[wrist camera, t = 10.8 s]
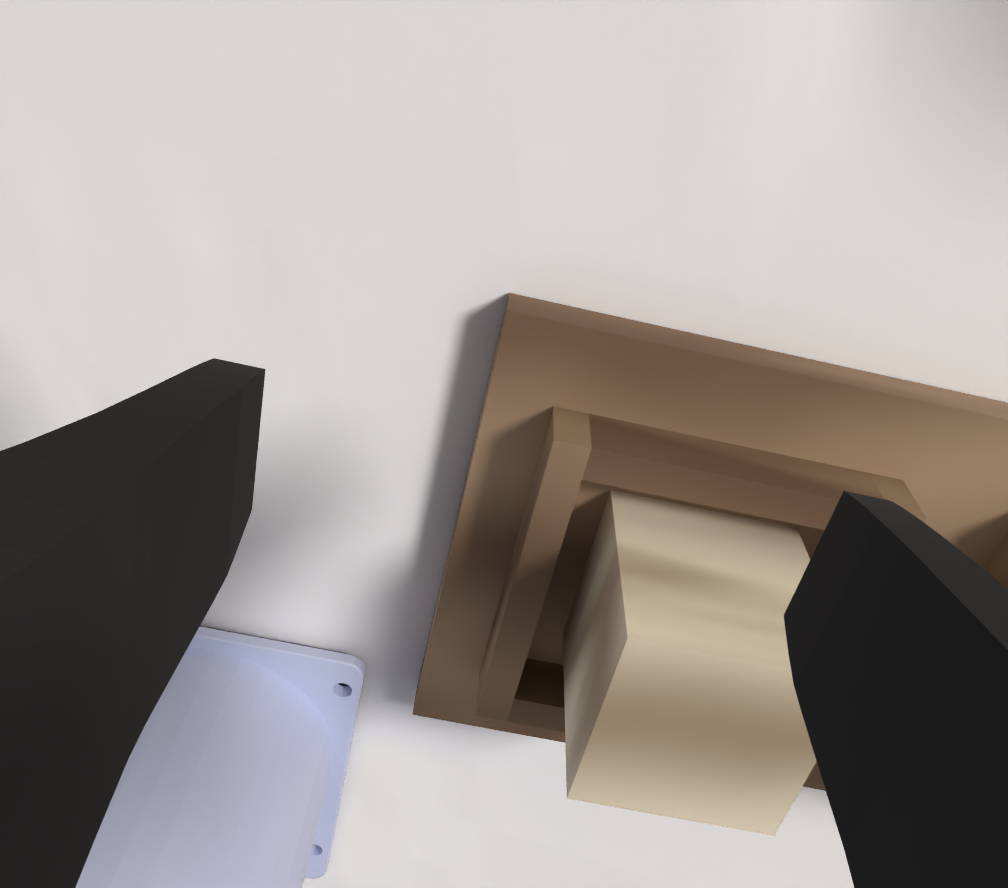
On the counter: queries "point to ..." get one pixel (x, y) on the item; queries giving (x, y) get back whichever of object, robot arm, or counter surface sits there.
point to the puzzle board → (701, 403)
